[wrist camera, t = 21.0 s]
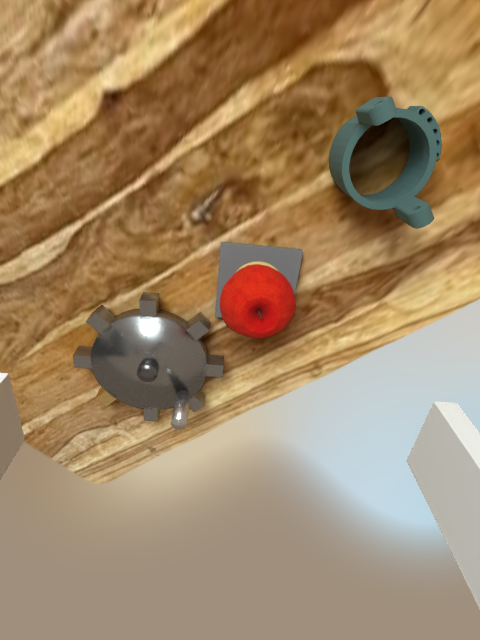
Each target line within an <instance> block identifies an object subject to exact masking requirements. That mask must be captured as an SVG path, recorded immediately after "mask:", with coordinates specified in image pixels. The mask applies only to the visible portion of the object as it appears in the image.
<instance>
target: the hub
mask: <svg viewBox="0 0 480 640" xmlns="http://www.w3.org/2000/svg"><path fill="white" fill-rule="evenodd" d="M158 371H159V367H158V365H157V363H155V362H154V361H151V360H144V361H142V362H141V363H140V365H139V367H138V370H137V376H138V378H139V379H140V380H142V381H144V382H152V381H154V380H155V379H156V378H157V375H158Z"/></svg>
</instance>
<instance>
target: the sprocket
mask: <svg viewBox="0 0 480 640" xmlns="http://www.w3.org/2000/svg"><path fill="white" fill-rule="evenodd" d="M86 322H87V323H88V324H89V325H90V326H92V327H93V328H94V329H95V330H96V331H98V332H99V335H98V337H97V338H96V340H95V342H94V344H93V347H83V346H79V347H78V348H77V350H76V351H75V353H74V355H73V359H74V366H75V368H88V369H92V370H93V373H94V375H95V377H96V379H97V381H98V382H99V384H100V385H101V386H102V387H101V388H100V389H99V392H98V394H97V396H96V398H95V399H96V400H97V401H99V402H100V403H101V404H103V405H104V406H105V407H107V406H108V405H109V404H111V403H112V402H113V401H115V400H116V399H117V400H119V401H121V402H123V403H125V404H128V405H130V406H133V407H137V408H142V409H144V420H145V421H158V417H159V413H160V409H167V408H172V407H174V410H173V415H172V421H171V425H172V427H173V428H175V429H179V430H180V429H184V428H185V427H186V425H187V418H188V410H189V408H190V409H191V410H192V411H193V412H195V411H197V410H198V409H200V408H201V407H203V406H204V404H205V395H204V394H203V393H202V392H201V391H200V388H201V387H202V385H203V383H204V380H205V377H206V376H212V377H223V366H224V356H215V355H207V349H206V346H205V343H204V341H203V339H202V336H203V335H204V334H206V333H207V332H208V331H209V330H210V321H209V320H208V319H207V318H206V317H205V316H204V315H203V314H202V313H201V312H200V313H198V314H197V315H196V316H194V317H193V318H192V319H190V320H189V321H188V322H187V321H186V320H184V319H183V318H181V317H179V316H177V315H175V314H173V313H170V312H167V311H163V310H159V294H157V293H144V292H143V294H142V296H141V298H140V309H134V310H129V311H126V312H123V313H121V314H119V315H117V316H114V315H113V314H112V313H111V312H110V311H108V310H107V309H106V308H105V307H104V306H103V305H101V306H100V307H98V308H97V309H96V310H95V311H94V312H93V313H92V314H91V315H90V317H89V318H88V320H87V321H86ZM144 360H151V361H154V362H155V363H157V365H158V367H159V371H158V375H157V378H156V379H155V380H154V381H152V382H144V381H142V380H140V379H139V378H138V376H137V370H138V367H139V365H140V363H141V362H142V361H144Z"/></svg>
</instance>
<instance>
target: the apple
mask: <svg viewBox="0 0 480 640" xmlns="http://www.w3.org/2000/svg"><path fill="white" fill-rule="evenodd" d="M219 306H220V311H221V316H222V318H223V320H224V322H225V323H226V325H227V326H228V327H229V328H230V329H232V330H233V331H235V332H237V333H239V334H242V335H245V336H248V337H251V338H266V337H268V336H271V335H274V334H276V333H277V332H279V331H281V330H283V328H284V327H285V326H286V325H287V324H288V323H289V322H290V321H291V318H292V316H293V314H294V311H295V307H296V303H295V296H294V291H293V288H292V286H291V284H290V283H289V281H288V280H287V279H286V277H285V276H284V275H283V274H281V273H280V272H279V271H277V270H275V269H273V268H271V267H269V266H265V265H260V264H254V265H248V266H246V267H244V268H241V269H239V270H238V271H237V272H236V273H235V274H233V276H232V277H231V278H230V279H229V280H228V281H227V282H226V284H225V285H224V287H223V290H222V292H221V296H220V305H219Z"/></svg>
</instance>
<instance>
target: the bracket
mask: <svg viewBox="0 0 480 640" xmlns="http://www.w3.org/2000/svg"><path fill="white" fill-rule="evenodd" d="M356 114H357V115H356V116H355V117H353V118H352V119H350V120H349V121H347V122H346V123H345V124H344V125H343V126H342V127H341V128H340V130H339V131H338V133H337V134H336V136H335V138H334V141H333V143H332V146H331V150H330V156H329V166H330V171H331V175H332V177H333V180H334V182H335V183H336V184H337V186H338V187H339V188H340V189H341V190H342V191H343V192H344V193H346V194H347V195H348V196H350V197H351V198H352V199H354V200H355V201H356V202H358V203H359V204H361V205H362V206H364V207H367V208H370V209H376V210H386V209H391V208H393V209H394V211H395V213H396V215H397V217H398V218H400V219H401V220H403V221H404V222H406V223H407V224H409V225H410V226H412V227H413V228H416V229H417V228H421V227H424V226H426V225H428V224H430V223H431V222H432V221H433V220H434V216H433V214H432V211H431V208H430V205H429V204H428V203H426V202H424V201H422V200H420V199H418V198H416V197H414V196H415V195H417V194H418V193H419V192H420V191H421V189H422V188H423V187H424V186H425V184H426V183H427V181H428V180H429V178H430V176H431V174H432V172H433V169H434V166H435V162H436V161H438V160H439V159H440V154H441V145H442V143H441V133H440V129H439V126H438V124H437V122H436V120H435V118H434V117H433V115H432V114H431V113H430V112H429V111H428V110H427V109H426V108H424V107H423V106H410V107H409V108H408V109H399V108H396V107H395V105H394V102H393V99H392V97H375V98H373V99H371V100H370V101H368V102H367V103H365V104H363V105H362V106H360V107H359V108H357V110H356ZM394 117H396V118H397V119H398V120H399V121H400V122H401V123H402V124H403V126H404V127H405V129H406V131H407V134H408V137H409V144H410V147H409V156H408V160H407V163H406V165H405V168H404V169H403V171H402V173H401V174H400V176H399V177H398V178H397V180H396V181H395V182H393V183H392V184H391V185H390V186H389V187H387V188H386V189H384V190H382V191H380V192H378V193H375V194H371V195H360V194H359V193H358V192H357V191H356V189H355V188H354V186H353V184H352V182H351V178H350V173H349V164H350V158H351V154H352V151H353V149H354V147H355V145H356V143H357V141H358V140H359V138H360V137H361V136H362V134H363V133H364V132H366V131H367V130H368V129H369V128H370V127H371V126H373V125H375V126H378V125H380V124H382V123H384V122H386V121H388V120H390V119H391V118H394Z"/></svg>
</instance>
